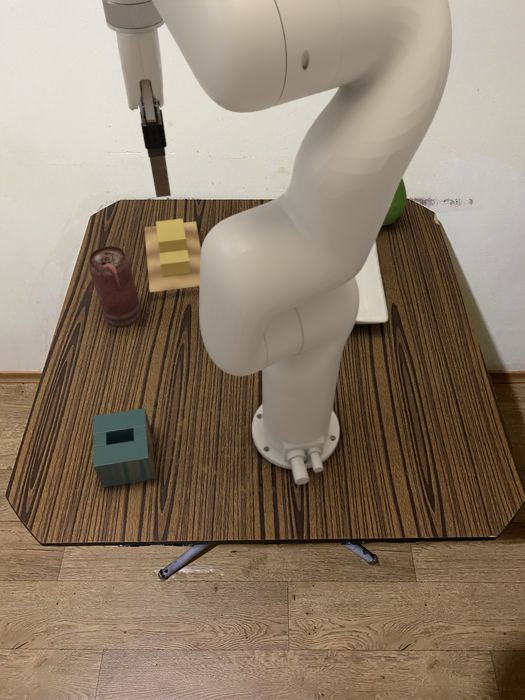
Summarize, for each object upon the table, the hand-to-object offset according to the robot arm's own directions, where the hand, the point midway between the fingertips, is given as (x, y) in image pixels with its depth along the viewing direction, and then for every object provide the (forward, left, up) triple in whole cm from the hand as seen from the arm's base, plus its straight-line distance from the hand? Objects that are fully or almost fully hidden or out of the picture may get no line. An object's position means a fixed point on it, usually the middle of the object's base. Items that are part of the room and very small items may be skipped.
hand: (155, 140), depth 87 cm
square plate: (-8, -22, -25) cm, 34 cm away
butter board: (+1, 0, -25) cm, 25 cm away
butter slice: (-3, 0, -23) cm, 24 cm away
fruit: (+5, -41, -25) cm, 48 cm away
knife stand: (-39, +10, -25) cm, 47 cm away
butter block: (+4, 0, -23) cm, 24 cm away
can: (-12, +9, -25) cm, 30 cm away
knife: (0, 0, -10) cm, 10 cm away
